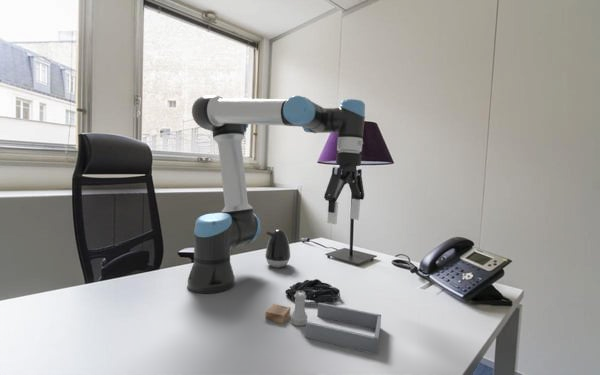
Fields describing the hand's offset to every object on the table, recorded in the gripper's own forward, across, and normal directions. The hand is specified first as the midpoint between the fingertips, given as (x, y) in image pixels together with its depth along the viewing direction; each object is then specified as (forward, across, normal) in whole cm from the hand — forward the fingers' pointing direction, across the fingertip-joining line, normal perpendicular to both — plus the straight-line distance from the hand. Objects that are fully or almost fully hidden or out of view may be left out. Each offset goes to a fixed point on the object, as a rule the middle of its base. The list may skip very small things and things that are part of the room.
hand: (343, 221), depth 91 cm
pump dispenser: (+26, +9, +35) cm, 44 cm away
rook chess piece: (+25, -20, 0) cm, 32 cm away
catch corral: (+25, -16, -12) cm, 31 cm away
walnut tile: (+25, -22, +5) cm, 34 cm away
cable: (+26, -4, +8) cm, 27 cm away
